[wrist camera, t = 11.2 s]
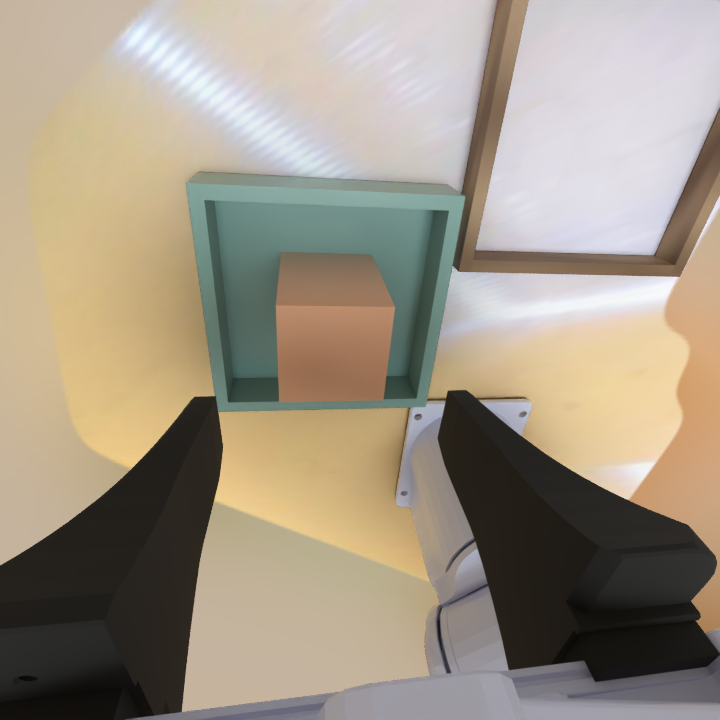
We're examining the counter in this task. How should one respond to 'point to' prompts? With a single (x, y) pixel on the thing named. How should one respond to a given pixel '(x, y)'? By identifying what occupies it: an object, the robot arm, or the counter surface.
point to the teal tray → (318, 235)
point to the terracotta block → (332, 328)
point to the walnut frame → (707, 181)
